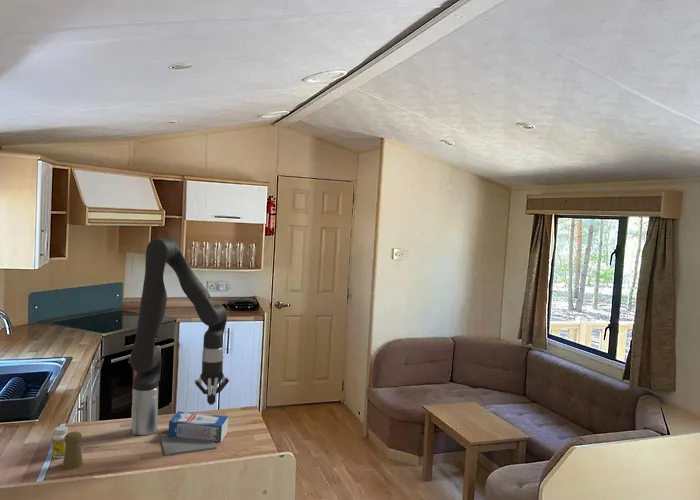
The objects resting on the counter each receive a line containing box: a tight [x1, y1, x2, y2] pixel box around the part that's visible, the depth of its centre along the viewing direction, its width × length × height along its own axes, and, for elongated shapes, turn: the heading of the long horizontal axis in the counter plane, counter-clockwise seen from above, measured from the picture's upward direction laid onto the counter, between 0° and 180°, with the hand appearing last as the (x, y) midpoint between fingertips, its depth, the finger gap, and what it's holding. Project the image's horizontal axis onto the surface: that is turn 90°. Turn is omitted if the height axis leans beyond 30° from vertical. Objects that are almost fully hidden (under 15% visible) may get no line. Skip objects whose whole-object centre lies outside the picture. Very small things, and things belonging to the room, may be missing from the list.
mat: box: [159, 434, 218, 456], centre depth 205 cm, size 18×16×1 cm
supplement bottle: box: [51, 425, 69, 459], centre depth 189 cm, size 5×5×10 cm
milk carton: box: [167, 410, 229, 443], centre depth 212 cm, size 10×6×20 cm
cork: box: [62, 431, 84, 470], centre depth 183 cm, size 6×6×11 cm
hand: (211, 403), depth 207 cm, fingers closed
